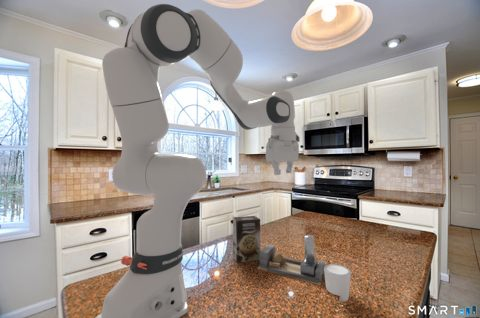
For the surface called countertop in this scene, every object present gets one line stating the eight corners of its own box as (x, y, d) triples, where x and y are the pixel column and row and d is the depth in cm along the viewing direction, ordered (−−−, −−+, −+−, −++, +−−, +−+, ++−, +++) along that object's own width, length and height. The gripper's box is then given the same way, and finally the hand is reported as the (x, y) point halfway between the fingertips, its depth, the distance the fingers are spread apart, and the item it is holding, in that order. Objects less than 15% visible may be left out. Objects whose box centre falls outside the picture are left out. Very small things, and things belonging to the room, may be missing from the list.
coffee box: (236, 267, 77) (236, 220, 77) (232, 259, 83) (232, 216, 83) (261, 263, 79) (260, 219, 80) (255, 256, 86) (254, 215, 86)
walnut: (281, 269, 72) (281, 257, 72) (270, 266, 74) (270, 254, 74) (285, 264, 75) (285, 252, 76) (274, 261, 77) (274, 250, 78)
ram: (314, 279, 65) (313, 240, 66) (300, 276, 67) (300, 238, 68) (318, 269, 72) (317, 234, 72) (305, 266, 74) (305, 232, 74)
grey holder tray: (319, 290, 63) (319, 267, 63) (256, 273, 73) (256, 253, 73) (325, 273, 72) (325, 253, 72) (269, 260, 82) (269, 242, 82)
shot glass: (343, 287, 64) (343, 263, 64) (356, 302, 57) (356, 275, 57) (320, 288, 64) (319, 263, 64) (330, 303, 57) (330, 276, 57)
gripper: (277, 133, 71) (277, 176, 71) (301, 137, 88) (301, 172, 88) (260, 135, 75) (261, 175, 75) (286, 138, 91) (287, 172, 92)
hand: (283, 173), depth 82 cm, fingers open, 8 cm apart
